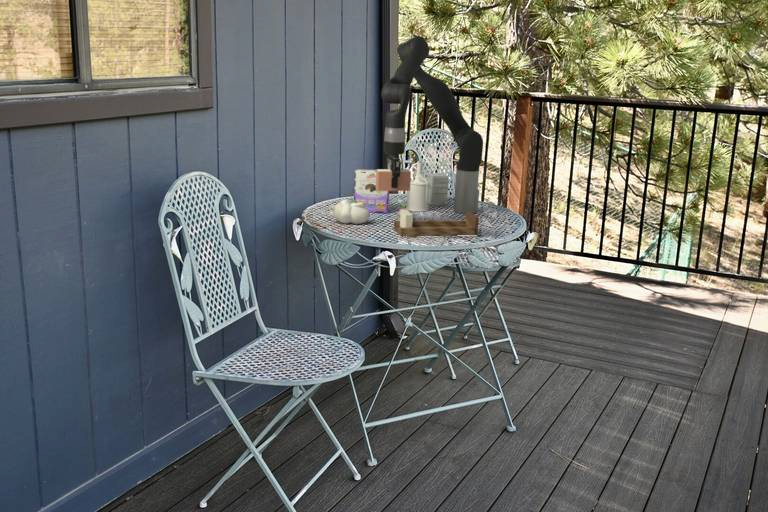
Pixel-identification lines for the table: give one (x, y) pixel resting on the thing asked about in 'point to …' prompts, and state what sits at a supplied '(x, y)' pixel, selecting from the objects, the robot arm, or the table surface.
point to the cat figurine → (350, 212)
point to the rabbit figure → (403, 209)
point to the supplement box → (437, 188)
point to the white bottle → (418, 192)
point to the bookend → (406, 219)
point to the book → (385, 180)
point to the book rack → (440, 227)
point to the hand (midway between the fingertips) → (392, 186)
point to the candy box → (370, 192)
